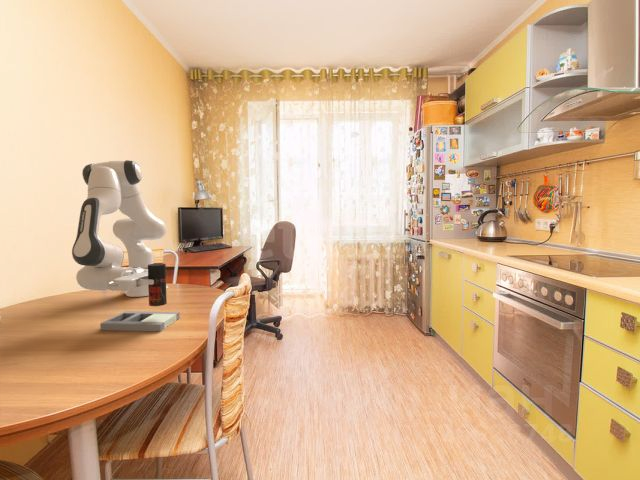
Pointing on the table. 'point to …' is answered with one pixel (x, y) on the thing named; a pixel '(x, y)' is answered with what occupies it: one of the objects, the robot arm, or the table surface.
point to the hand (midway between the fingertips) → (159, 279)
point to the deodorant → (157, 284)
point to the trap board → (140, 321)
